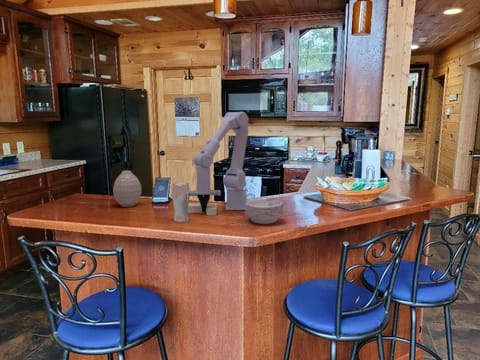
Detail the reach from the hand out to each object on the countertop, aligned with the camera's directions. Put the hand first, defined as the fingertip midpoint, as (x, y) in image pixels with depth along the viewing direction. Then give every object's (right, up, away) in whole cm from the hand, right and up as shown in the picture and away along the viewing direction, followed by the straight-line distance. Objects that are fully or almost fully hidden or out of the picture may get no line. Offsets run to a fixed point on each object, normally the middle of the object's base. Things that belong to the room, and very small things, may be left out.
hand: (203, 212), depth 160 cm
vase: (-38, +1, +17) cm, 42 cm away
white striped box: (-1, 0, +6) cm, 6 cm away
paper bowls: (+26, -3, -11) cm, 28 cm away
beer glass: (-8, -3, -9) cm, 13 cm away
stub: (+4, -1, 0) cm, 4 cm away
